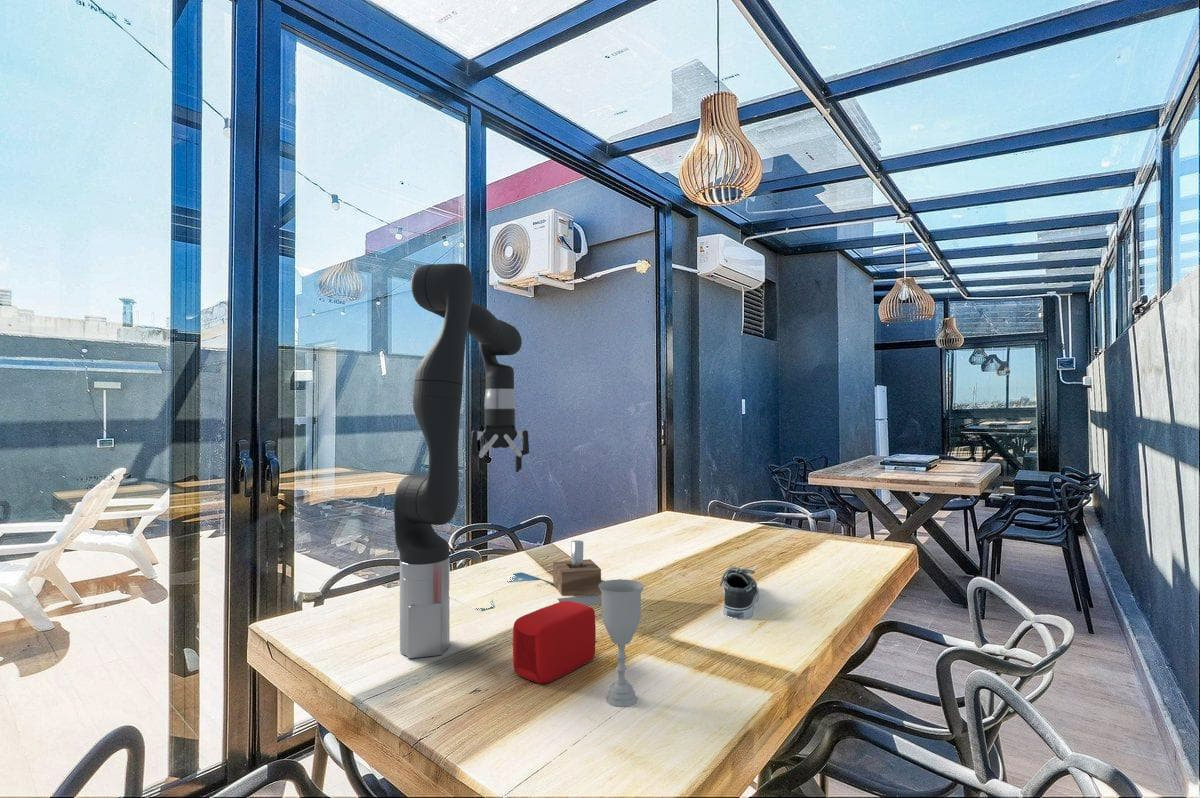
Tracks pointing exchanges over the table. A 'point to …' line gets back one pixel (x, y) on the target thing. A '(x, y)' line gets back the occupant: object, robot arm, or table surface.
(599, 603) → the mat
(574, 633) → the decorative item
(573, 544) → the pin
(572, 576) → the socket block
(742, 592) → the boat shoe
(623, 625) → the chalice
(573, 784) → the table surface
